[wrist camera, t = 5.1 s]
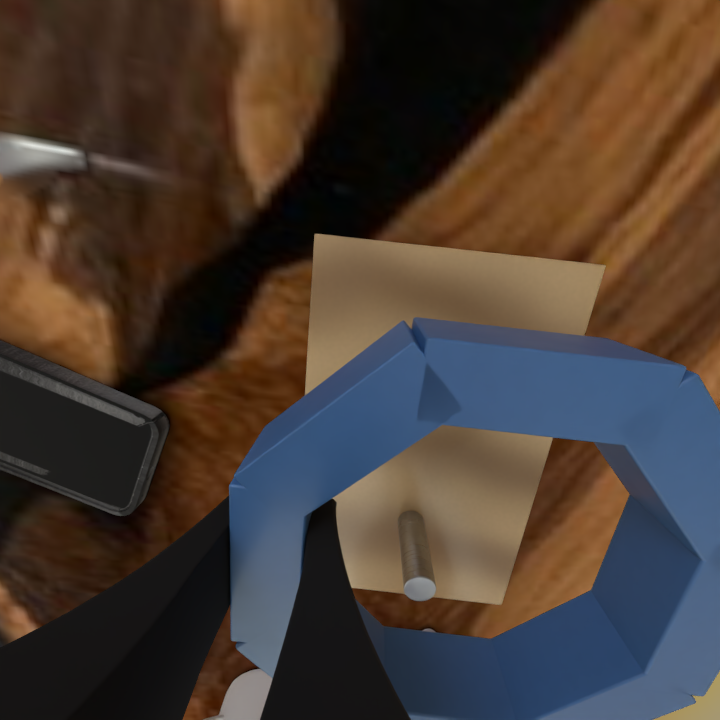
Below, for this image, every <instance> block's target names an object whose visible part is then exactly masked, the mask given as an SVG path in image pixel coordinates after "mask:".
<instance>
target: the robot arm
mask: <svg viewBox="0 0 720 720" xmlns="http://www.w3.org/2000/svg"><path fill="white" fill-rule="evenodd" d="M336 506H337V502H336V501H335V500H334V499H331V500H329V501H328V502H326V503H325V504H323V505H322V506H320V507H319V508H317V509H316V510H314V511H313V512H312V514H311V518H310V521H309V526H308V533H307V540H306V547H305V555H304V562H303V568H302V574H301V579H300V583H299V587H298V590H297V594H296V598H295V602H294V606H293V609H292V613H291V617H290V620H289V624H288V627H287V631H286V635H285V638H284V642H283V645H282V649H281V652H280V655H279V659H278V662H277V666H276V669H275V672H274V676H273V679H272V683H271V686H270V689H269V692H268V695H267V699H266V702H265V705H264V708H263V711H262V715H261V718H260V720H411V719H410V717H409V715H408V713H407V712H406V710H405V708H404V706H403V704H402V702H401V701H400V699H399V697H398V695H397V693H396V691H395V689H394V687H393V685H392V683H391V681H390V679H389V677H388V675H387V673H386V671H385V669H384V667H383V665H382V663H381V661H380V658H379V656H378V654H377V652H376V650H375V647H374V645H373V643H372V641H371V638H370V636H369V634H368V632H367V629H366V627H365V624H364V621H363V619H362V616H361V614H360V611H359V608H358V606H357V603H356V600H355V597H354V594H353V591H352V588H351V585H350V581H349V578H348V574H347V571H346V567H345V563H344V559H343V555H342V550H341V545H340V541H339V535H338V528H337V518H336ZM229 606H230V516H229V496H228V497H227V498H226V499H225V500H224V501H222V502H221V503H220V504H219V505H218V506H217V507H216V508H215V509H213V510H212V511H211V512H210V513H209V514H208V515H207V516H205V517H204V518H203V519H202V520H201V521H200V522H198V523H197V524H196V525H195V526H194V527H192V528H191V529H190V530H189V531H188V532H186V533H185V534H184V535H183V536H182V537H180V538H179V539H178V540H176V541H175V542H174V543H173V544H171V545H170V546H169V547H167V548H166V549H165V550H163V551H162V552H161V553H160V554H158V555H157V556H156V557H154V558H153V559H151V560H150V561H149V562H147V563H146V564H145V565H143V566H142V567H140V568H139V569H137V570H136V571H134V572H133V573H132V574H130V575H129V576H127V577H126V578H124V579H123V580H121V581H120V582H118V583H116V584H115V585H113V586H112V587H110V588H108V589H107V590H105V591H103V592H102V593H100V594H98V595H97V596H95V597H93V598H92V599H90V600H88V601H87V602H85V603H83V604H82V605H80V606H78V607H76V608H75V609H73V610H71V611H70V612H68V613H66V614H64V615H62V616H61V617H59V618H57V619H55V620H53V621H51V622H49V623H48V624H46V625H44V626H42V627H40V628H38V629H36V630H34V631H32V632H30V633H28V634H26V635H25V636H23V637H21V638H19V639H17V640H15V641H13V642H11V643H9V644H7V645H5V646H3V647H1V648H0V720H182V719H183V717H184V714H185V711H186V708H187V706H188V703H189V700H190V697H191V695H192V692H193V689H194V687H195V684H196V681H197V679H198V676H199V673H200V670H201V668H202V666H203V663H204V661H205V658H206V656H207V654H208V651H209V649H210V647H211V645H212V643H213V640H214V638H215V636H216V634H217V632H218V629H219V627H220V625H221V623H222V621H223V619H224V616H225V614H226V612H227V610H228V608H229ZM422 631H428V632H435V631H434V630H432V629H430V628H427V629H424V630H422Z"/></svg>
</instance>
